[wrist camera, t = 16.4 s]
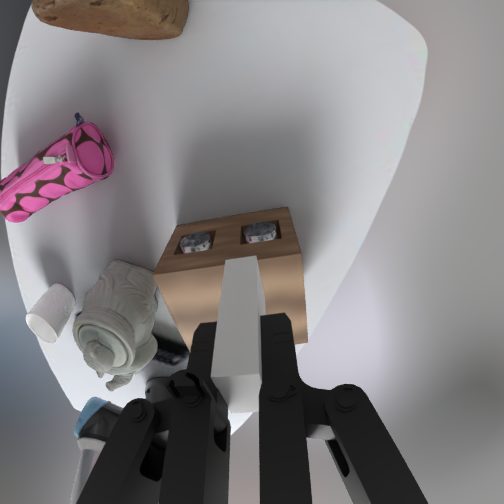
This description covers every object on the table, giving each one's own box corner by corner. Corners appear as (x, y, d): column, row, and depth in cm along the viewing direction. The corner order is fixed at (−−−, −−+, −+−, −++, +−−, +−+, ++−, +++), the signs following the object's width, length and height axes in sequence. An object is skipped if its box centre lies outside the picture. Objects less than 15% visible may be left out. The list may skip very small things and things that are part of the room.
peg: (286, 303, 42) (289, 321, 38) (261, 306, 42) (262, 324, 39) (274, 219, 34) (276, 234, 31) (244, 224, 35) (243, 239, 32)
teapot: (141, 335, 52) (115, 413, 36) (84, 288, 46) (40, 363, 30) (194, 299, 47) (173, 395, 31) (127, 240, 41) (72, 327, 25)
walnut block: (297, 286, 45) (308, 342, 35) (202, 298, 47) (191, 354, 36) (287, 206, 38) (301, 253, 28) (176, 225, 39) (152, 275, 29)
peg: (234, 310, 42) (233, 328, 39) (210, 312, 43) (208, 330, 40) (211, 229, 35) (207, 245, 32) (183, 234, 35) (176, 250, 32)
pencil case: (101, 106, 30) (58, 114, 21) (125, 166, 35) (90, 191, 26) (16, 169, 33) (-22, 190, 25) (37, 215, 38) (3, 243, 29)
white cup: (43, 286, 46) (20, 318, 38) (61, 276, 45) (36, 309, 36) (65, 313, 50) (46, 345, 42) (84, 305, 48) (64, 340, 40)
